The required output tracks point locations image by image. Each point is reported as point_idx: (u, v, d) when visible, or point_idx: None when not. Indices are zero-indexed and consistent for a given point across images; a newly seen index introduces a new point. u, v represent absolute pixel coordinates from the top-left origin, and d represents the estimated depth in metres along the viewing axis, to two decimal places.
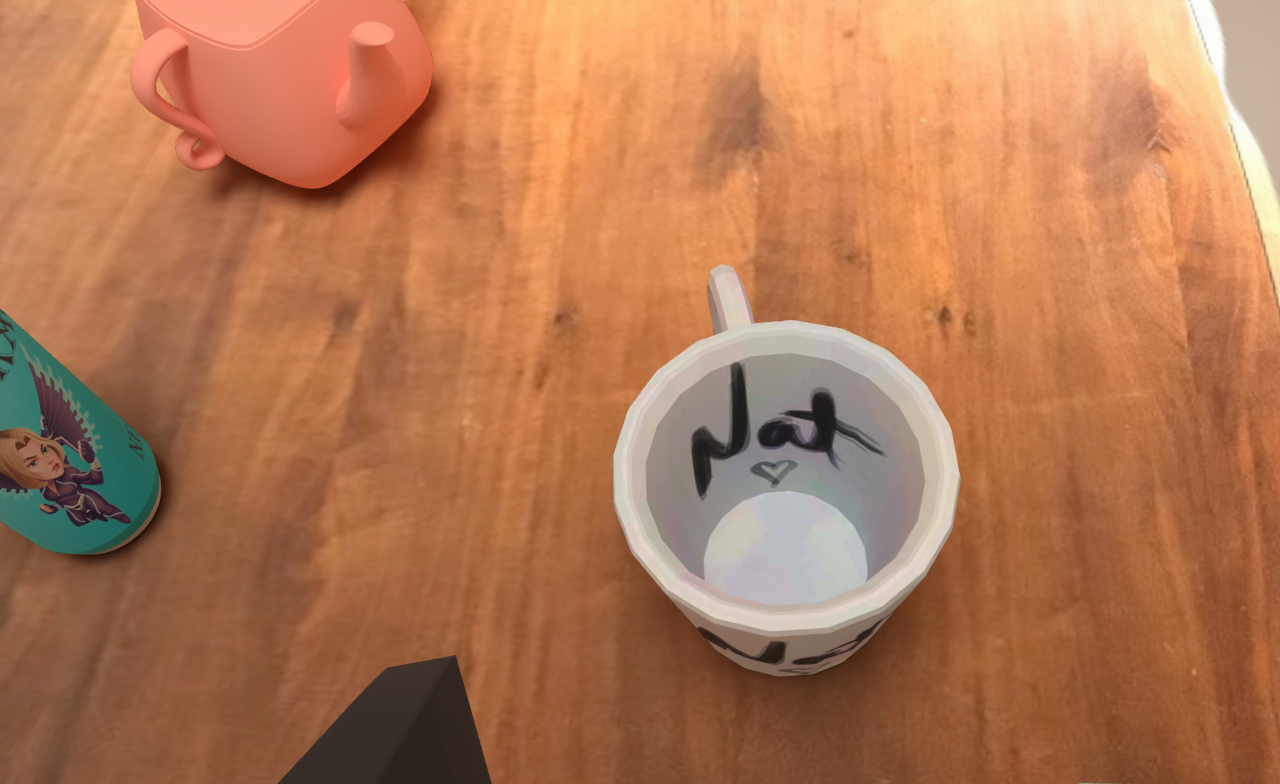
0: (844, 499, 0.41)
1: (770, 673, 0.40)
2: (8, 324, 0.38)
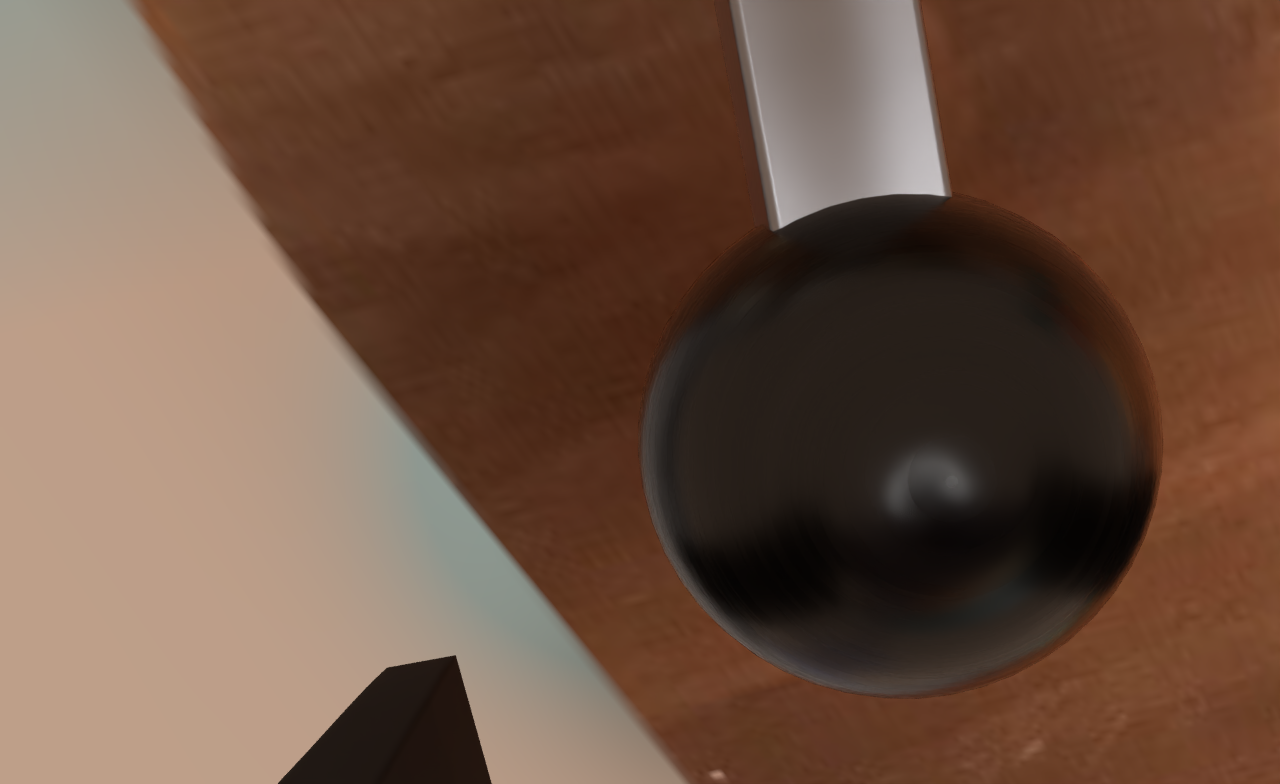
0: None
1: None
2: None
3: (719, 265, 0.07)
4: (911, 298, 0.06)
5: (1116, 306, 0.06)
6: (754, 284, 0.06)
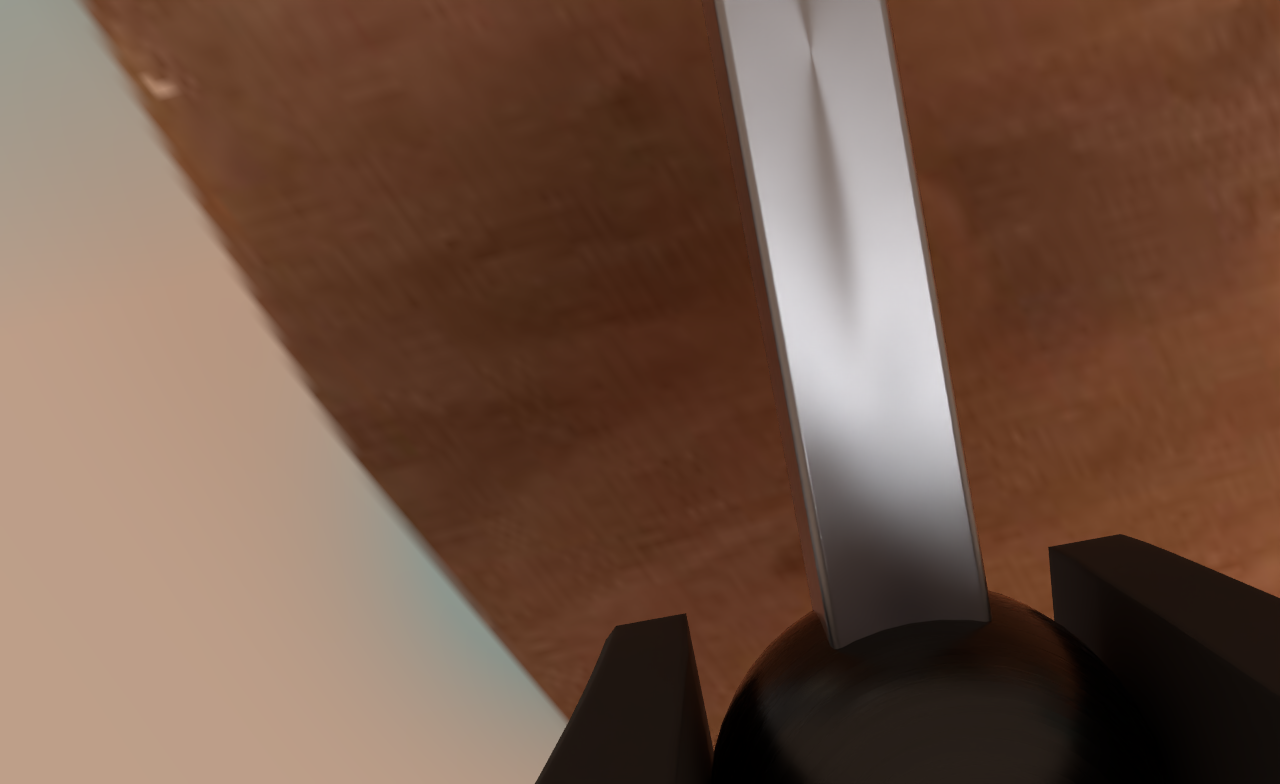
0: None
1: None
2: None
3: (785, 670, 0.08)
4: (961, 757, 0.07)
5: (1137, 729, 0.07)
6: (820, 717, 0.07)
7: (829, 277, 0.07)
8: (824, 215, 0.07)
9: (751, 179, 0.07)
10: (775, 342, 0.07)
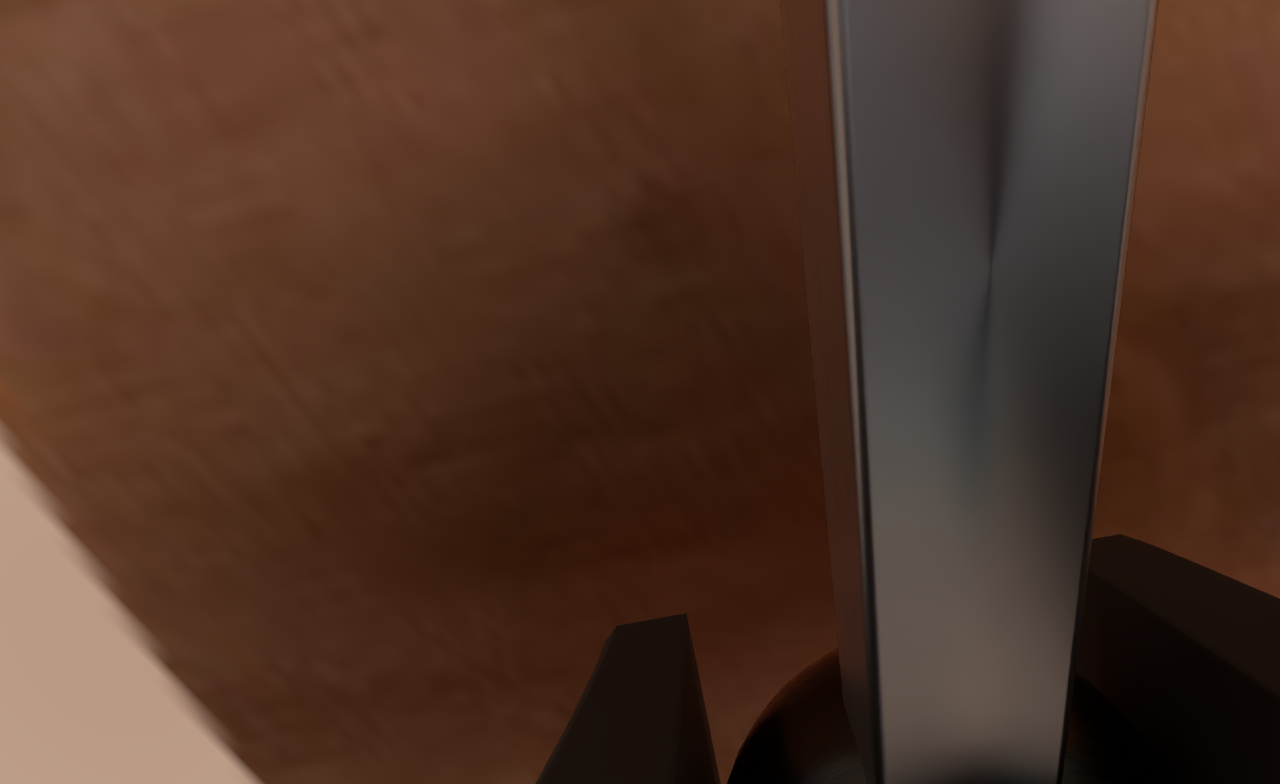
0: None
1: None
2: None
3: None
4: None
5: None
6: None
7: (952, 537, 0.05)
8: (961, 473, 0.05)
9: (863, 432, 0.05)
10: (862, 592, 0.05)
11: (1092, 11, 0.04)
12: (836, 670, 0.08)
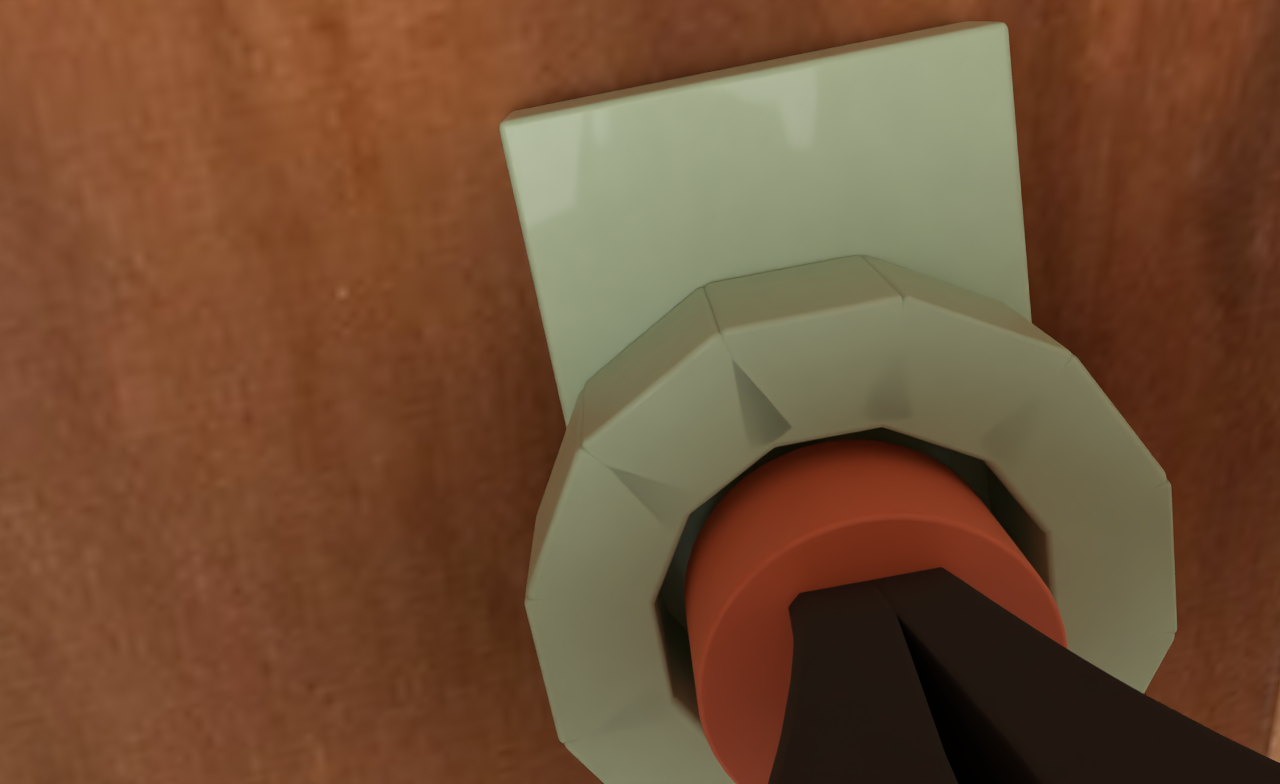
0: None
1: None
2: None
3: None
4: None
5: None
6: None
7: None
8: None
9: None
10: None
11: None
12: None
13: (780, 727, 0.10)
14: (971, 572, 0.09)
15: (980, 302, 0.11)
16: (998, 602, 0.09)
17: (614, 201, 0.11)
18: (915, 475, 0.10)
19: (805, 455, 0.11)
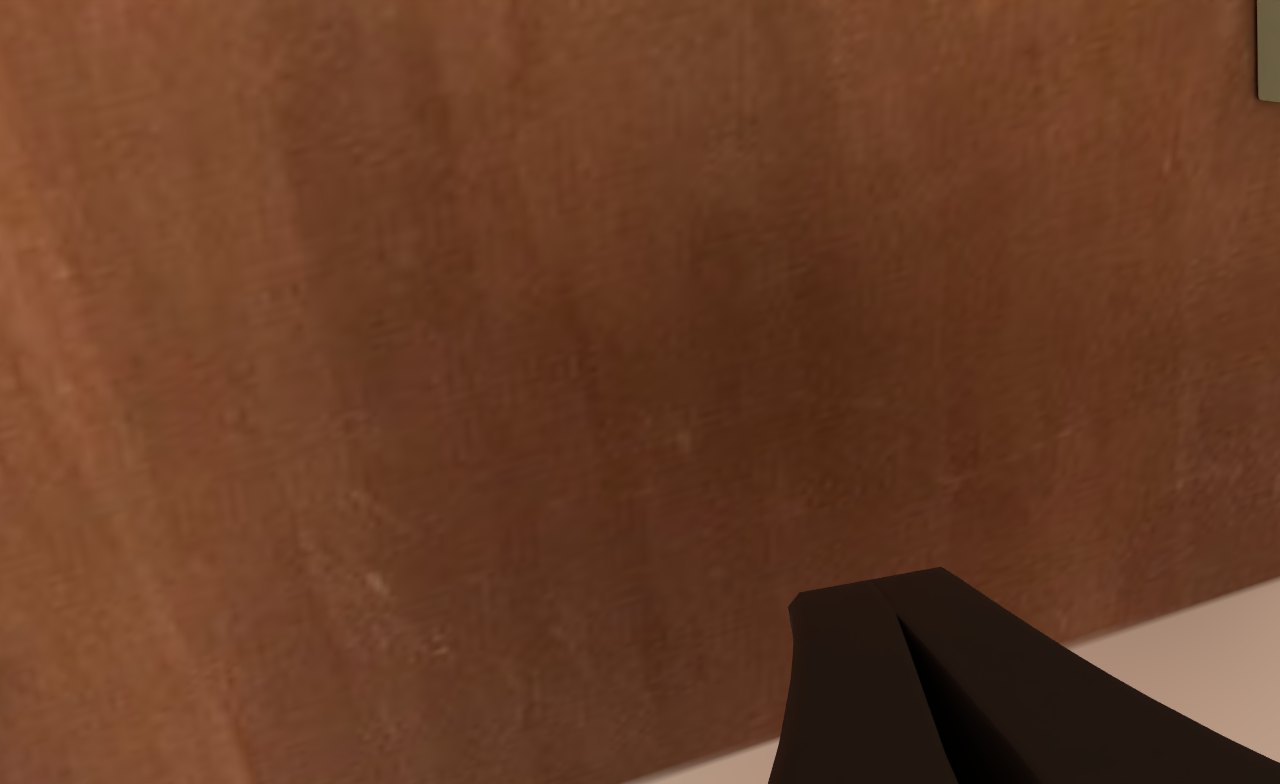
0: None
1: None
2: None
3: None
4: None
5: None
6: None
7: None
8: None
9: None
10: None
11: None
12: None
13: None
14: None
15: None
16: None
17: None
18: None
19: None
